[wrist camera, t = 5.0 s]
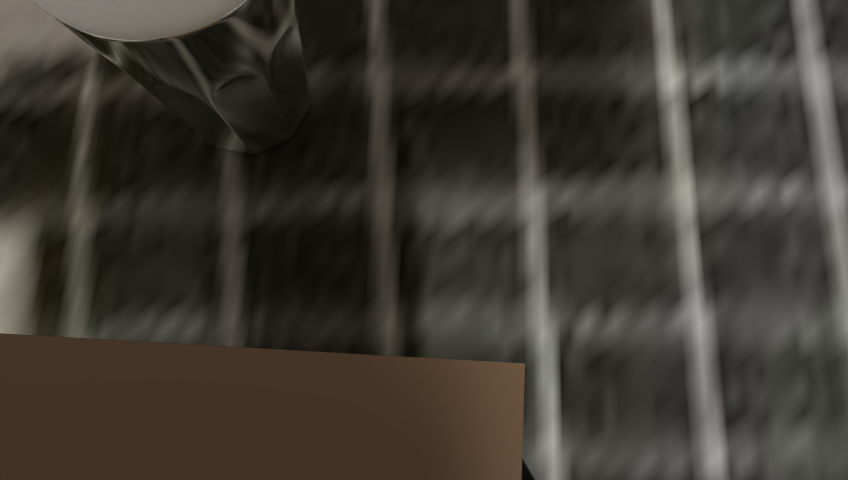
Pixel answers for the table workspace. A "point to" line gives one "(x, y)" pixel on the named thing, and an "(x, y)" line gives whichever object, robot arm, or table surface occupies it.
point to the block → (251, 413)
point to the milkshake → (205, 61)
